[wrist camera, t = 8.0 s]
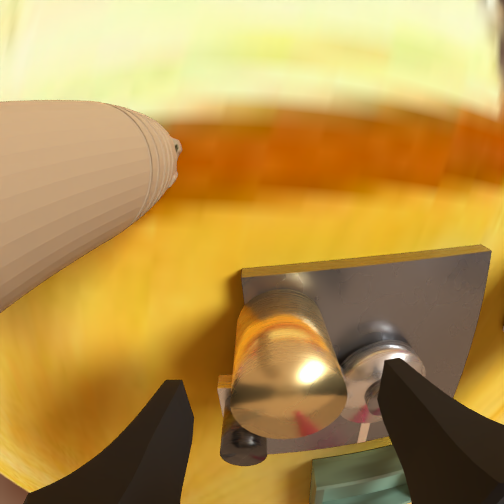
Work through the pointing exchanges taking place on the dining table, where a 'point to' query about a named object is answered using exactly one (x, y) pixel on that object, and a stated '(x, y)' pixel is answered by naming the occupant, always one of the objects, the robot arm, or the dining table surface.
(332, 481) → the tray
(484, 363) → the dining table surface
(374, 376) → the crank
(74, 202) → the handle
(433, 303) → the crank base
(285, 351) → the pin
